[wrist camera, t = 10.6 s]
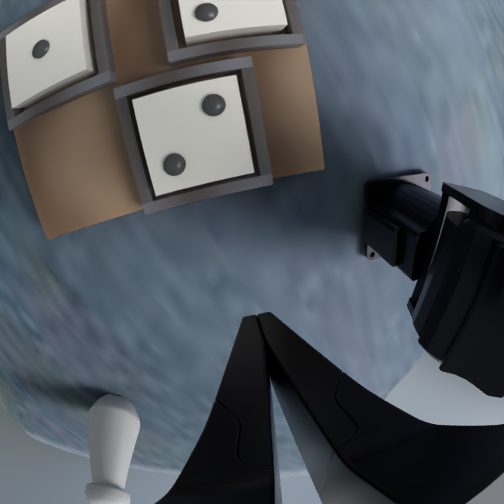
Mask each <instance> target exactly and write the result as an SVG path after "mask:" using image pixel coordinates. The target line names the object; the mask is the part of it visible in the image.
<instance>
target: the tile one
mask: <svg viewBox="0 0 504 504" xmlns="http://www.w3.org/2000/svg"><path fill="white" fill-rule="evenodd" d="M6 57H7V71H8V82H9V91H10V98H11V105H12V108H27V107H30V106H31V105H33V104H35V103H37V102H38V101H40V100H42V99H44V98H46V97H48V96H50V95H51V94H53V93H55V92H57V91H59V90H61V89H63V88H66V87H68V86H70V85H72V84H74V83H76V82H79V81H81V80H83V79H85V78H88V77H90V76H92V75H95V74H97V73H98V69H97V63H96V56H95V49H94V42H93V34H92V25H91V14H90V4H89V3H88V2H87V1H86V0H65V1H63V2H61V3H59V4H57V5H56V6H54V7H52V8H50V9H48V10H46V11H45V12H43V13H41V14H39V15H38V16H36V17H34V18H33V19H31V20H29V21H28V22H26V23H25V24H23V25H21V26H20V27H18V28H17V29H15V30H14V31H12V32H11V33H10V34H8V35H7V36H6Z"/></svg>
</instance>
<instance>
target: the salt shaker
mask: <svg viewBox="0 0 504 504" xmlns="http://www.w3.org/2000/svg"><path fill="white" fill-rule="evenodd" d="M139 429H140V420H139V417H138V415H137V412H136V409H135V406H134V405H133V404H132V403H130V402H129V401H128V400H127V399H126V398H125V397H121V396H117V395H112V394H107V395H105V396H102V397H100V398H99V399H98V400H97V401H96V402H95V403H94V405H93V406H92V407H91V408H90V409H89V412H88V432H89V451H90V463H91V473H92V483H89V484H87V485H86V489H85V496H86V499H87V500H88V501H89V503H90V504H130V495H129V493H128V492H127V491H125V490H124V487H125V482H126V478H127V474H128V469H129V465H130V461H131V457H132V454H133V450H134V446H135V443H136V439H137V436H138V433H139Z"/></svg>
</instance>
